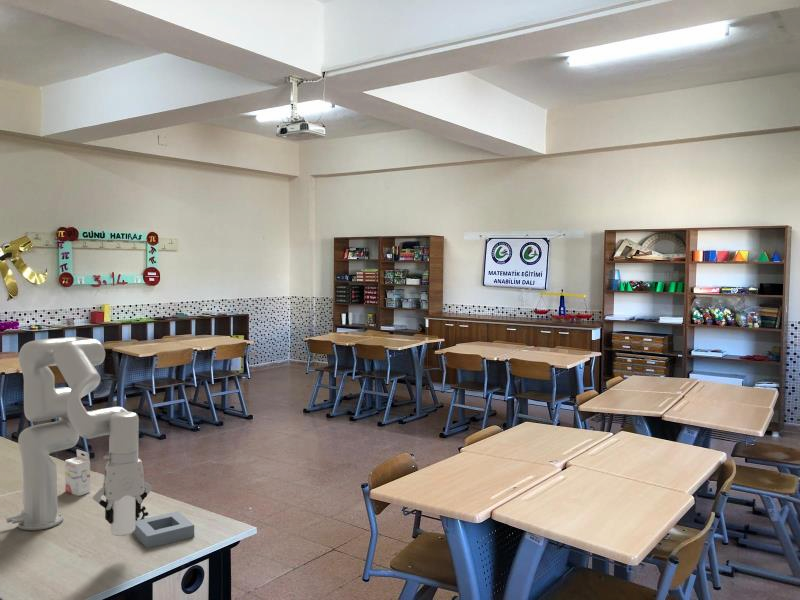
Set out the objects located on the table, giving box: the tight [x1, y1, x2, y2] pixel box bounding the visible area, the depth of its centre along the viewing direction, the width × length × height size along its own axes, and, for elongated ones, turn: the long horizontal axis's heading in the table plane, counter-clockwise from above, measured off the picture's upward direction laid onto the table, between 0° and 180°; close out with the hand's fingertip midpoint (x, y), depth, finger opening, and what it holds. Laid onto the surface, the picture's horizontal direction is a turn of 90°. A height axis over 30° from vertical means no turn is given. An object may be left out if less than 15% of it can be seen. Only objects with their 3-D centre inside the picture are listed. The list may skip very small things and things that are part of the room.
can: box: [110, 495, 136, 537], centre depth 183 cm, size 6×6×12 cm
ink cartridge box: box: [64, 449, 91, 497], centre depth 236 cm, size 9×5×15 cm, turn 58°
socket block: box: [132, 510, 195, 549], centre depth 200 cm, size 14×14×4 cm
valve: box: [135, 505, 149, 521], centre depth 211 cm, size 7×7×12 cm
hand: (123, 518), depth 183 cm, fingers closed on can, 6 cm apart
